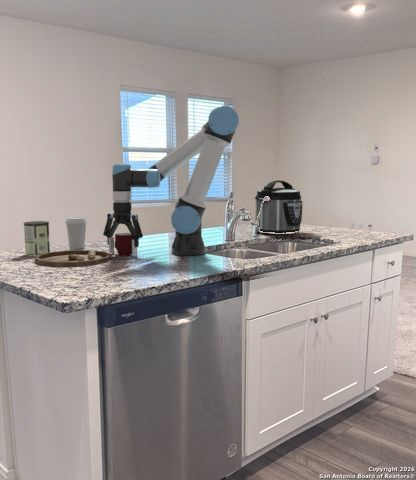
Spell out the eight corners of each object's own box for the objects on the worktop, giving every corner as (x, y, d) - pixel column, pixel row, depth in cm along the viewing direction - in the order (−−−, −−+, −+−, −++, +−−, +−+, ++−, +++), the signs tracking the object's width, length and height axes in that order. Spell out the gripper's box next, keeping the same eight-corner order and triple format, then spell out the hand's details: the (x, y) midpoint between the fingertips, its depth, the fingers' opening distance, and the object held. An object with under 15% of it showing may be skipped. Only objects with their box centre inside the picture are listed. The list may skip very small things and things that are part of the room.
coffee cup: (76, 253, 211) (75, 219, 209) (61, 251, 216) (60, 218, 214) (92, 250, 219) (91, 217, 217) (77, 248, 224) (76, 216, 222)
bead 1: (86, 262, 183) (85, 254, 182) (80, 263, 180) (80, 255, 179) (79, 261, 184) (79, 254, 183) (74, 262, 181) (74, 255, 181)
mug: (107, 257, 201) (106, 233, 199) (121, 254, 207) (120, 232, 206) (125, 260, 195) (124, 235, 193) (138, 257, 201) (138, 233, 200)
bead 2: (97, 257, 193) (97, 250, 192) (92, 258, 190) (92, 251, 190) (91, 257, 194) (91, 249, 194) (86, 258, 192) (86, 250, 191)
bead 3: (97, 260, 187) (96, 252, 187) (92, 261, 185) (92, 253, 184) (91, 259, 189) (90, 252, 188) (86, 260, 186) (85, 253, 186)
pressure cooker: (261, 236, 271) (262, 180, 267) (247, 231, 299) (247, 180, 294) (310, 235, 277) (312, 180, 273) (292, 230, 305) (293, 180, 300)
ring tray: (124, 260, 195) (123, 252, 194) (77, 272, 170) (77, 264, 169) (70, 254, 207) (70, 247, 206) (20, 265, 182) (19, 257, 181)
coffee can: (35, 252, 213) (34, 220, 211) (55, 253, 210) (53, 221, 208) (19, 255, 204) (18, 222, 202) (39, 257, 200) (38, 223, 198)
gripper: (151, 202, 196) (151, 254, 199) (104, 200, 206) (106, 250, 209) (141, 202, 189) (141, 257, 192) (93, 201, 199) (95, 252, 202)
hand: (123, 253), depth 201 cm, fingers open, 11 cm apart
